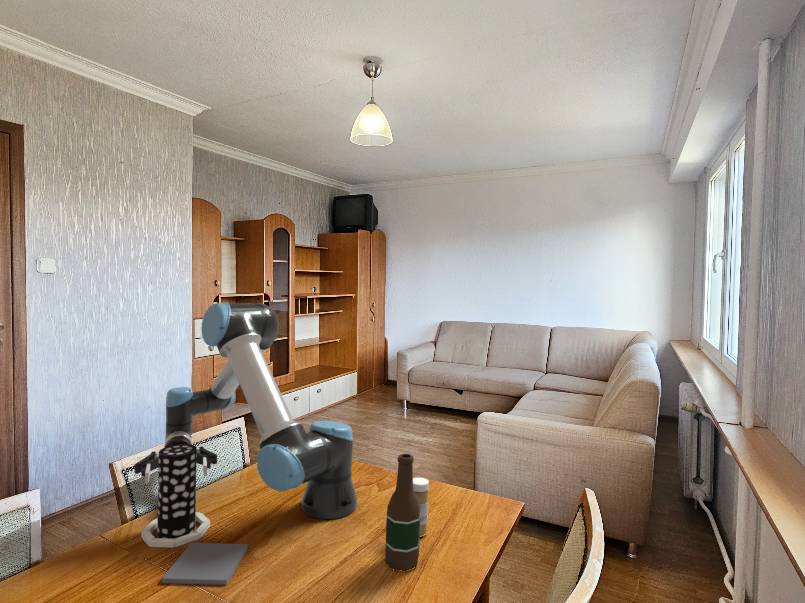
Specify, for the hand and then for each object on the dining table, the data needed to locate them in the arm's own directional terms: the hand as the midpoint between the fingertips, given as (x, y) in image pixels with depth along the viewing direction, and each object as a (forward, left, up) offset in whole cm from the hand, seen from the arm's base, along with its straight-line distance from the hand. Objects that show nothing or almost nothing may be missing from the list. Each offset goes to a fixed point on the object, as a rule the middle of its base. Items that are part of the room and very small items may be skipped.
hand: (176, 474), depth 119 cm
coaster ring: (-4, +7, -11) cm, 13 cm away
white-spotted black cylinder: (-4, +7, -11) cm, 14 cm away
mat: (-17, +20, -11) cm, 28 cm away
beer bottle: (-59, +17, -11) cm, 62 cm away
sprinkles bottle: (-63, +5, -11) cm, 64 cm away
